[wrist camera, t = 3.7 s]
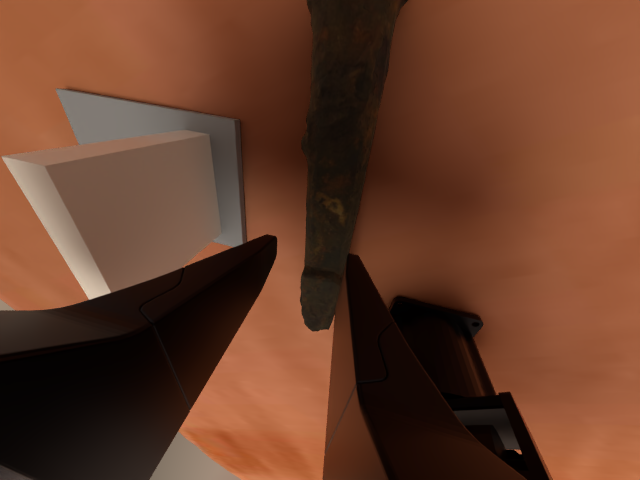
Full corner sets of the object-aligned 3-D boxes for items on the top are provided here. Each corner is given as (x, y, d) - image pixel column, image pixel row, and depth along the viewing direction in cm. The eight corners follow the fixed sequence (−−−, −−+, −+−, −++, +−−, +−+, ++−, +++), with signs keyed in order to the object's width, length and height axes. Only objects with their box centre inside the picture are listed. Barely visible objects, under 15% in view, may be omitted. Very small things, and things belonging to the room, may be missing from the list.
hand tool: (320, -20, 10) (281, -98, 6) (414, -13, 9) (439, -93, 5) (295, 289, 20) (275, 334, 16) (339, 301, 20) (329, 350, 16)
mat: (239, 119, 13) (234, 120, 13) (246, 245, 18) (242, 249, 18) (66, 89, 15) (55, 88, 14) (116, 213, 19) (109, 216, 19)
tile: (209, 134, 13) (44, 165, 7) (221, 233, 17) (123, 316, 11) (182, 129, 14) (-4, 155, 7) (200, 228, 17) (91, 306, 11)
